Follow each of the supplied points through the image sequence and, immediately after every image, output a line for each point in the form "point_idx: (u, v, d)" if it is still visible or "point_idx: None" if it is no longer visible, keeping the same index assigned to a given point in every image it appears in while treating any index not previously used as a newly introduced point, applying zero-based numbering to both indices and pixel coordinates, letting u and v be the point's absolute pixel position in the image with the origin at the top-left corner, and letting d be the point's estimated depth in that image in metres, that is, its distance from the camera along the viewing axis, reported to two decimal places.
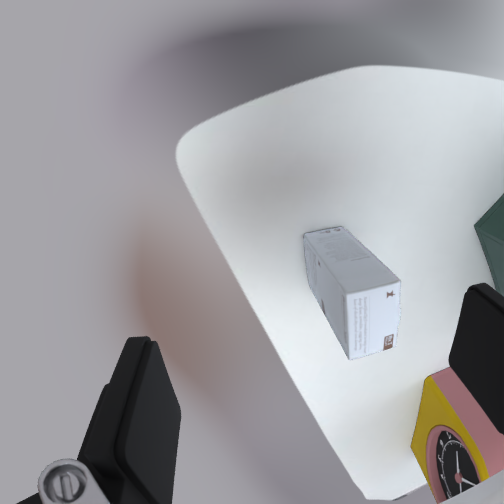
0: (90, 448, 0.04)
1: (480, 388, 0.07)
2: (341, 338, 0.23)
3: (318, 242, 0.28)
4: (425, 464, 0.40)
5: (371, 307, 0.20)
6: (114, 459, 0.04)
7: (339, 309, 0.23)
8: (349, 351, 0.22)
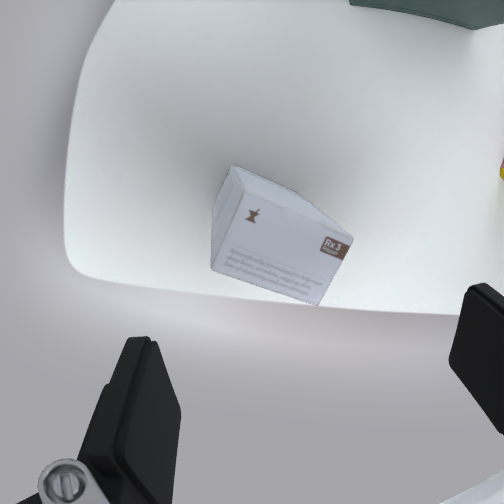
0: (90, 448, 0.04)
1: (480, 388, 0.07)
2: None
3: (215, 210, 0.23)
4: None
5: (253, 249, 0.15)
6: (114, 459, 0.04)
7: None
8: (302, 300, 0.16)
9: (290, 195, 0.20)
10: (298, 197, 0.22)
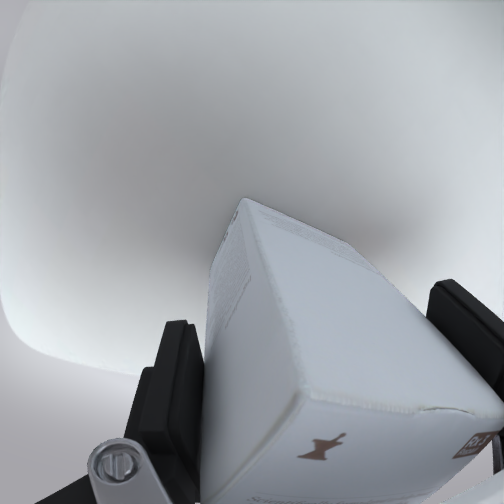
0: (144, 424, 0.05)
1: None
2: None
3: (212, 286, 0.13)
4: None
5: (307, 494, 0.04)
6: (168, 434, 0.05)
7: None
8: None
9: (363, 278, 0.10)
10: (368, 271, 0.11)
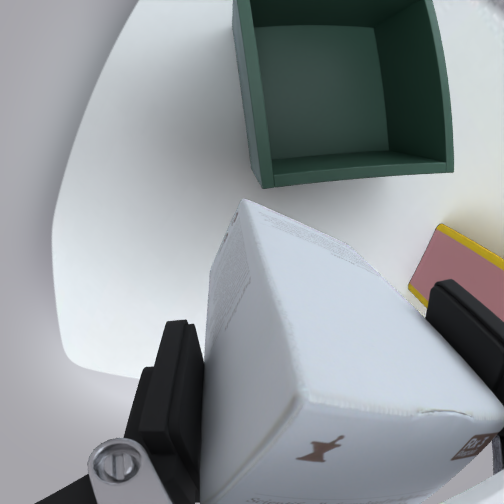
0: (144, 424, 0.05)
1: None
2: None
3: (212, 287, 0.13)
4: None
5: (307, 496, 0.04)
6: (168, 434, 0.05)
7: None
8: None
9: (363, 280, 0.10)
10: (368, 272, 0.11)
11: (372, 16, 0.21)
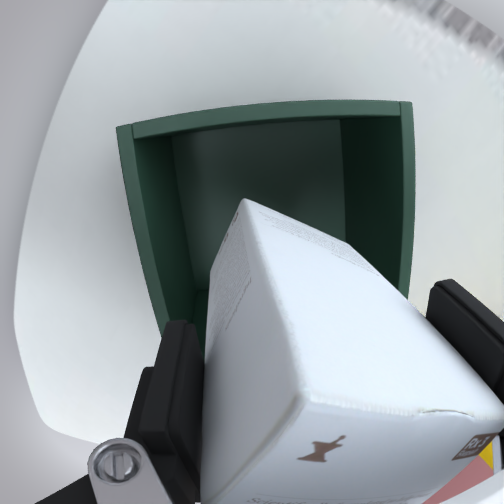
0: (144, 424, 0.05)
1: None
2: None
3: (213, 287, 0.13)
4: None
5: (308, 496, 0.04)
6: (168, 434, 0.05)
7: None
8: None
9: (364, 280, 0.10)
10: (369, 272, 0.11)
11: None
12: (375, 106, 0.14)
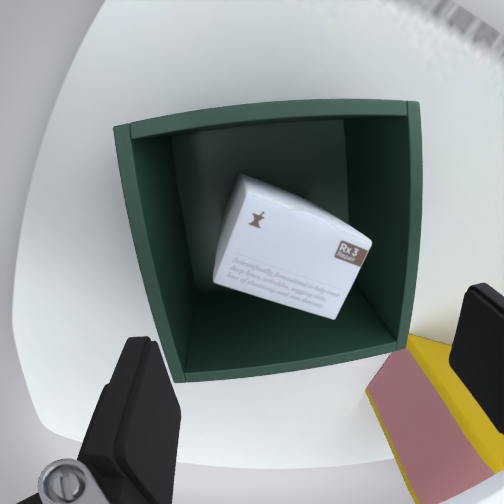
0: (90, 448, 0.04)
1: (480, 388, 0.07)
2: None
3: (222, 221, 0.22)
4: None
5: (259, 258, 0.13)
6: (114, 459, 0.04)
7: None
8: (317, 314, 0.14)
9: (301, 200, 0.18)
10: (310, 203, 0.20)
11: (337, 118, 0.19)
12: (382, 106, 0.13)
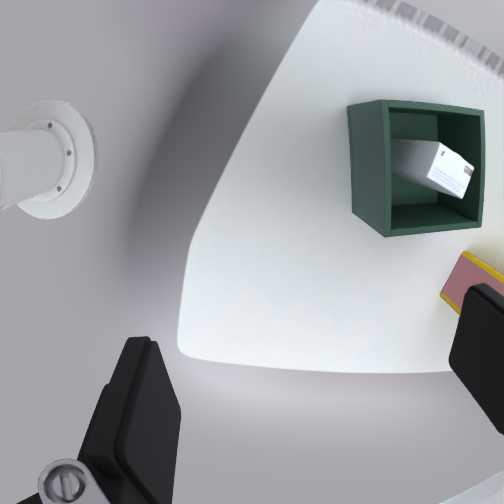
0: (90, 448, 0.04)
1: (480, 388, 0.07)
2: (448, 193, 0.31)
3: None
4: None
5: (442, 168, 0.28)
6: (114, 459, 0.04)
7: (432, 183, 0.31)
8: (457, 195, 0.30)
9: None
10: None
11: (441, 114, 0.34)
12: (471, 111, 0.28)
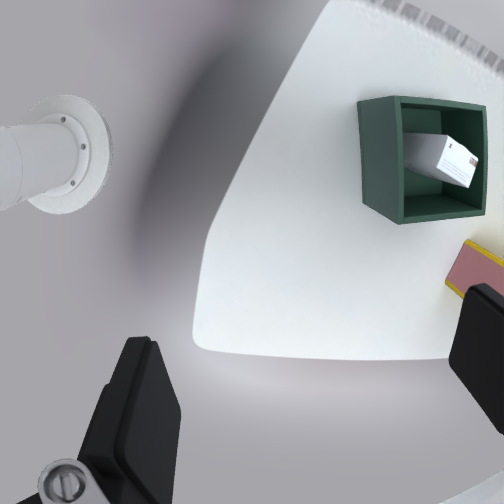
0: (90, 448, 0.04)
1: (480, 388, 0.07)
2: (455, 182, 0.33)
3: None
4: None
5: (450, 159, 0.30)
6: (114, 459, 0.04)
7: (440, 173, 0.32)
8: (463, 184, 0.31)
9: None
10: None
11: None
12: (474, 106, 0.30)
